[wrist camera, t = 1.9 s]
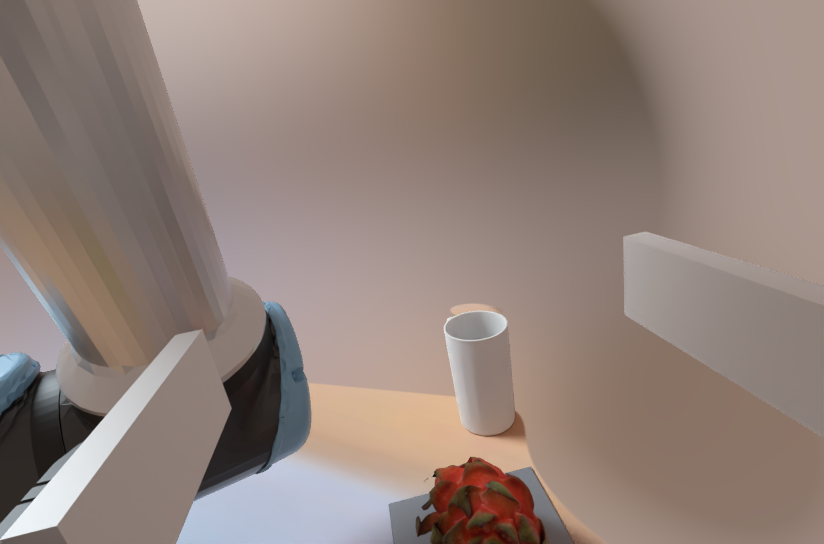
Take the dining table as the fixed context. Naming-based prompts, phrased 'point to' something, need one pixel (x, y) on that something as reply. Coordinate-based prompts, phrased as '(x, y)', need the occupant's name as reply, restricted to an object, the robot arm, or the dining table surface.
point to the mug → (481, 370)
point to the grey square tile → (410, 508)
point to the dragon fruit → (480, 507)
